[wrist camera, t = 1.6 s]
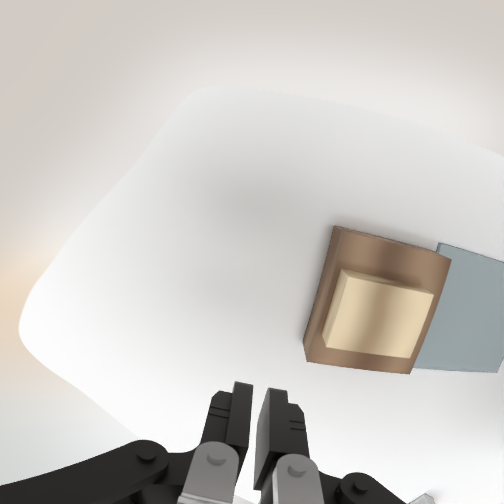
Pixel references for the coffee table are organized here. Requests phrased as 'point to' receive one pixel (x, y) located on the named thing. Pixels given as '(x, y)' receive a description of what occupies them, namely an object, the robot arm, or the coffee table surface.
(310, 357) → the block
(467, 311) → the grey mat
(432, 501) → the skincare box
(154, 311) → the coffee table surface
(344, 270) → the oak tile
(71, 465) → the robot arm
